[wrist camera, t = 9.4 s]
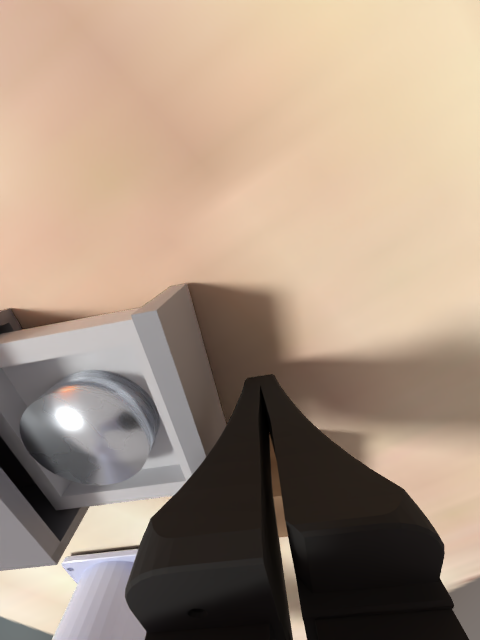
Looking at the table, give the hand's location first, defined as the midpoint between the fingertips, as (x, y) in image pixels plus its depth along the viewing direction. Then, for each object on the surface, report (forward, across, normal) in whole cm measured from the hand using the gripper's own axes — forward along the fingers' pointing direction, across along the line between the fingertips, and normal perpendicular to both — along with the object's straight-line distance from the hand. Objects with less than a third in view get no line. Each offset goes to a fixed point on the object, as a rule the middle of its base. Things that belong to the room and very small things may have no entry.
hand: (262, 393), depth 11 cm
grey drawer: (+2, +8, 0) cm, 9 cm away
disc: (0, +8, 0) cm, 8 cm away
